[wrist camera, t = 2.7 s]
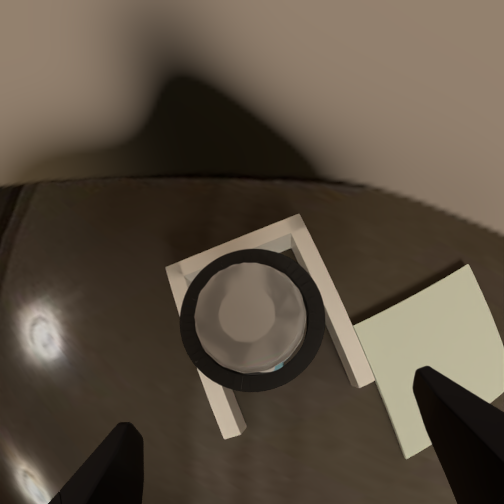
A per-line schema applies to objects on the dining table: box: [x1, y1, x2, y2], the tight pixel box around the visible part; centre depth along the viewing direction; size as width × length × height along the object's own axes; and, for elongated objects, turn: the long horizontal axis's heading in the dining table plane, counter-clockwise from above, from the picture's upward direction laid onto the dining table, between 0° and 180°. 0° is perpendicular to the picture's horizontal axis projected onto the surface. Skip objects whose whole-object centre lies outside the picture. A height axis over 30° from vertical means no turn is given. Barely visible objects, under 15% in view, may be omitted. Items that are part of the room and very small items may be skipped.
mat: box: [353, 264, 504, 459], centre depth 17 cm, size 10×10×1 cm
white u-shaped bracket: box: [165, 214, 375, 439], centre depth 19 cm, size 9×11×2 cm
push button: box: [180, 249, 325, 392], centre depth 15 cm, size 7×5×10 cm
